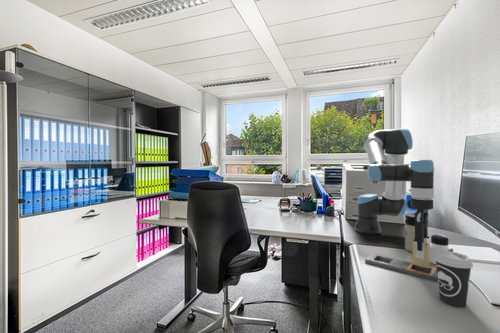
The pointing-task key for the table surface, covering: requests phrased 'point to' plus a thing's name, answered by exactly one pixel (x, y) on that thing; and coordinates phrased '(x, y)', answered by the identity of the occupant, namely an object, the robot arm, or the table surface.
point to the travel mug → (409, 231)
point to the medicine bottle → (438, 246)
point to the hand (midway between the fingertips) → (421, 256)
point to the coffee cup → (453, 277)
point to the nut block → (426, 260)
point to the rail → (403, 267)
